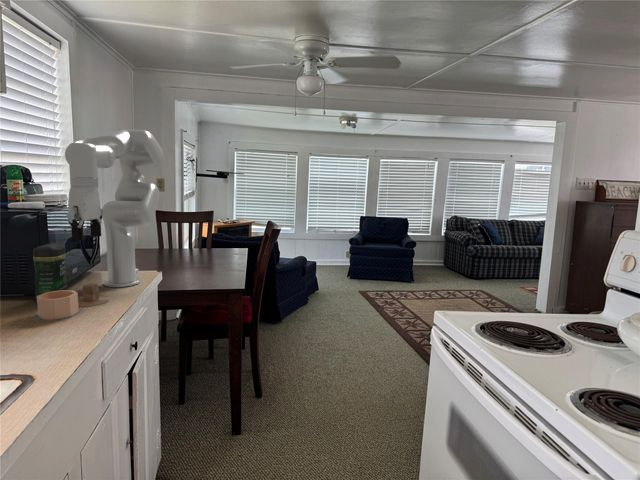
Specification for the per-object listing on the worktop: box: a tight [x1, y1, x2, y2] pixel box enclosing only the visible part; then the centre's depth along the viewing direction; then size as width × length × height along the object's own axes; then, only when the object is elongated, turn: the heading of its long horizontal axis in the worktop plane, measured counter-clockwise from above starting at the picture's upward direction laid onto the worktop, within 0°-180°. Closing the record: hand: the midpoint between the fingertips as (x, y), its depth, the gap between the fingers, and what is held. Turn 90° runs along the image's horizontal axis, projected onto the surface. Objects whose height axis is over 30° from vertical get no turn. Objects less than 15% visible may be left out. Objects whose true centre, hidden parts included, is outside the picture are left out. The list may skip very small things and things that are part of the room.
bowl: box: [36, 289, 80, 320], centre depth 116 cm, size 9×9×6 cm
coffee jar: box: [32, 242, 69, 302], centre depth 130 cm, size 10×8×19 cm
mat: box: [29, 309, 86, 322], centre depth 117 cm, size 10×10×1 cm
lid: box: [78, 283, 111, 308], centre depth 129 cm, size 11×11×6 cm
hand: (87, 238), depth 126 cm, fingers open, 9 cm apart
